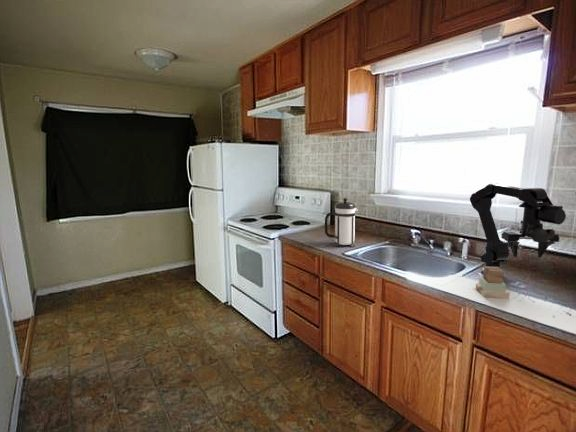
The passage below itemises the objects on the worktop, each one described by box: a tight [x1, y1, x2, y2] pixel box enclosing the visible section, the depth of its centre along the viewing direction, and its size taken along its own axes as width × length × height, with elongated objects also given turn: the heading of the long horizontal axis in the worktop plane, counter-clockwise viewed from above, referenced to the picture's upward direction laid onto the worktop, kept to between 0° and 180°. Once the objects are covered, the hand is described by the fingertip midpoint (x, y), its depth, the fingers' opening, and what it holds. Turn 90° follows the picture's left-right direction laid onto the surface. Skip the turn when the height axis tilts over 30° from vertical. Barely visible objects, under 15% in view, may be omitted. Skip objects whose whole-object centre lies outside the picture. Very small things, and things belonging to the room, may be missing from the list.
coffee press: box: [324, 197, 359, 248], centre depth 198 cm, size 17×16×30 cm
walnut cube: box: [482, 265, 505, 284], centre depth 125 cm, size 5×5×5 cm
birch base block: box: [475, 282, 510, 300], centre depth 127 cm, size 8×8×3 cm
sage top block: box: [478, 276, 507, 292], centre depth 126 cm, size 7×7×3 cm
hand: (527, 257), depth 130 cm, fingers open, 9 cm apart
